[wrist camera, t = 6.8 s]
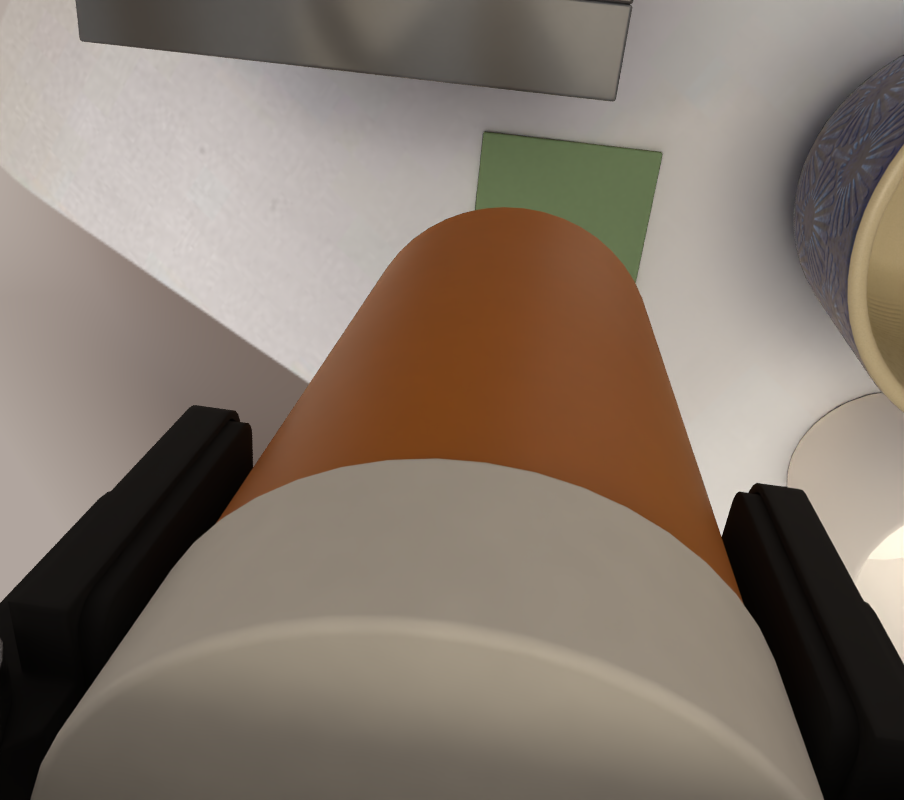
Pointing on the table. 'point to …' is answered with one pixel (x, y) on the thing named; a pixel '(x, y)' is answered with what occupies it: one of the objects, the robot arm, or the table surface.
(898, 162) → the planter
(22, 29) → the table surface
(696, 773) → the medicine bottle
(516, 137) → the mat
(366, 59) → the metal storage bin
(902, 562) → the cup
